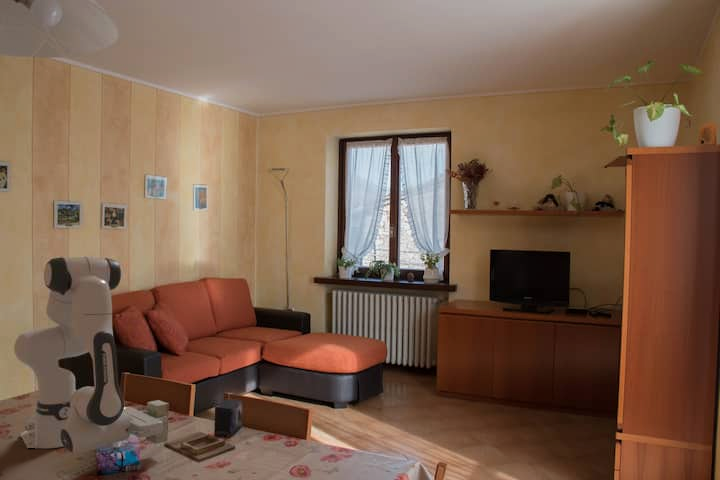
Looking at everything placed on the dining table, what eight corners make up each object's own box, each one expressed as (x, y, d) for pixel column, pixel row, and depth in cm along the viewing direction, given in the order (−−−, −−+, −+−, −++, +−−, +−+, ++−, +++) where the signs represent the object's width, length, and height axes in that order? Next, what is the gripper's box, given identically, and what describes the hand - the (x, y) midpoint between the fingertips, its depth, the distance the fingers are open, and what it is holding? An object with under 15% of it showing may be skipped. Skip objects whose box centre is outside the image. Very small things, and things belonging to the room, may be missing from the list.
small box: (230, 438, 202) (231, 408, 202) (213, 436, 203) (213, 406, 203) (242, 427, 212) (243, 399, 212) (226, 425, 214) (226, 397, 213)
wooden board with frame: (164, 445, 195) (164, 438, 195) (199, 433, 206) (199, 427, 206) (199, 461, 182) (199, 454, 182) (235, 448, 193) (235, 441, 193)
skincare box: (167, 441, 186) (170, 403, 186) (155, 444, 182) (158, 406, 182) (156, 436, 190) (158, 399, 190) (144, 439, 186) (146, 401, 186)
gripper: (136, 424, 169) (178, 413, 180) (102, 408, 182) (143, 398, 193) (136, 446, 170) (178, 433, 180) (102, 428, 183) (143, 417, 193)
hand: (159, 415), depth 187 cm, fingers closed on skincare box, 6 cm apart
